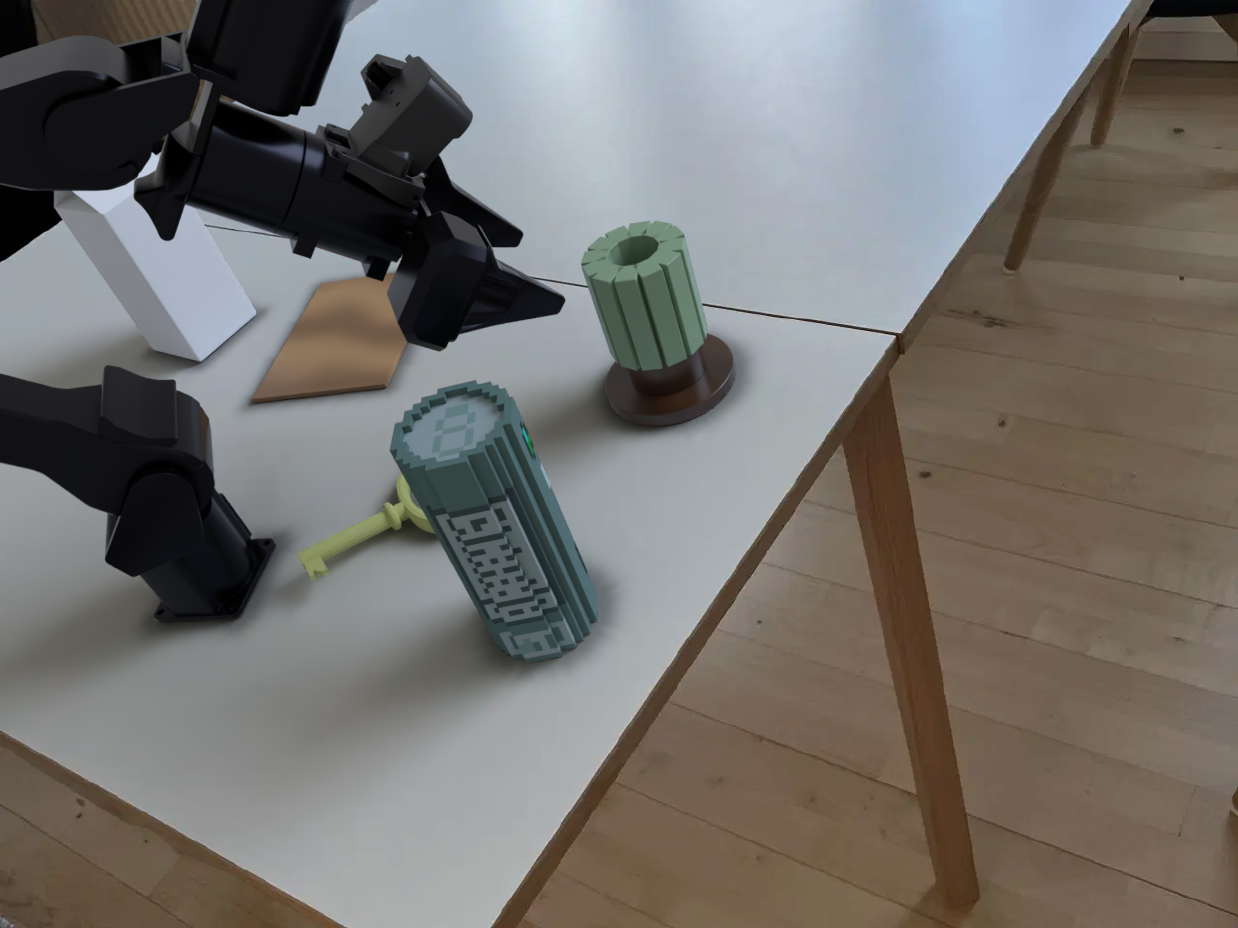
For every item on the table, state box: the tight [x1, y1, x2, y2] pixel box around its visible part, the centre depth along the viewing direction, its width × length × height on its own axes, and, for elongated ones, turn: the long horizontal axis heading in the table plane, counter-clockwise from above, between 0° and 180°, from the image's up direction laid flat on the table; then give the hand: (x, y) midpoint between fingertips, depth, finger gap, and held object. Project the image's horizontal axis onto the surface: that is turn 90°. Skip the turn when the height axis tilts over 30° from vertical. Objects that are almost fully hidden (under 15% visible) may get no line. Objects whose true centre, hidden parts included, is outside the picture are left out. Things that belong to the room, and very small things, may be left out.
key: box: [296, 472, 436, 582], centre depth 69 cm, size 7×12×2 cm, turn 139°
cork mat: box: [251, 272, 408, 404], centre depth 89 cm, size 16×12×1 cm
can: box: [389, 379, 598, 664], centre depth 56 cm, size 6×6×15 cm
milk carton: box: [53, 152, 257, 362], centre depth 90 cm, size 7×7×19 cm
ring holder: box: [604, 332, 737, 427], centre depth 71 cm, size 9×9×9 cm
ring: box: [580, 220, 709, 371], centre depth 69 cm, size 7×7×7 cm
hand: (540, 270), depth 65 cm, fingers open, 9 cm apart
